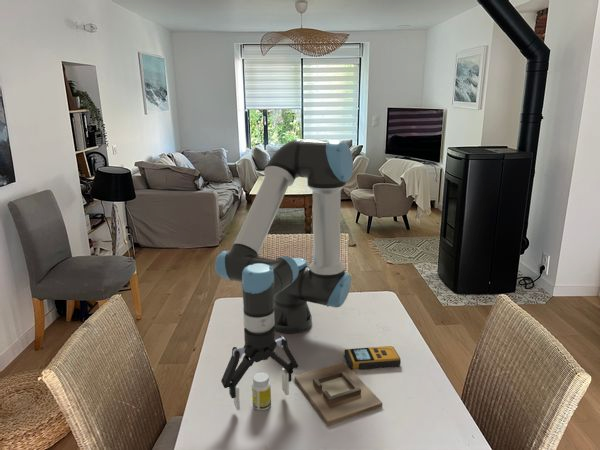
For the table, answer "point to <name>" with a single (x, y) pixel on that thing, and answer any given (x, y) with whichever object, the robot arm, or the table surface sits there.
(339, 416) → the board
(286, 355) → the robot arm
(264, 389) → the supplement bottle
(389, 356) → the electronic device
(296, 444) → the table surface
